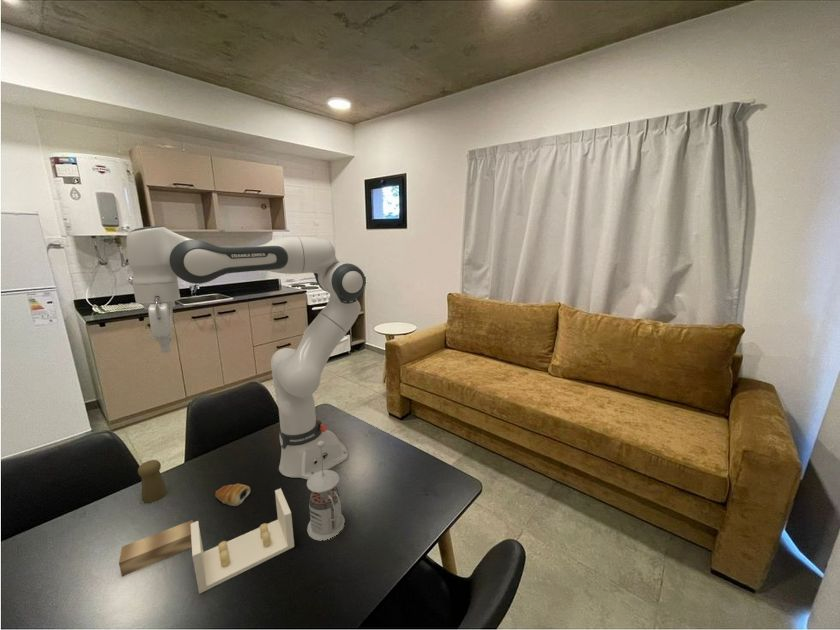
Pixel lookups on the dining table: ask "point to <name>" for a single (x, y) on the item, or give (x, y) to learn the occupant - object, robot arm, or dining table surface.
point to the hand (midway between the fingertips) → (166, 347)
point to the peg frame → (242, 548)
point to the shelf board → (155, 548)
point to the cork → (152, 481)
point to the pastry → (233, 494)
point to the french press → (324, 504)
